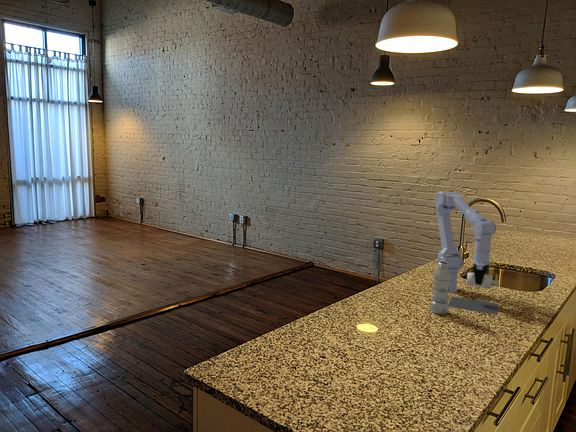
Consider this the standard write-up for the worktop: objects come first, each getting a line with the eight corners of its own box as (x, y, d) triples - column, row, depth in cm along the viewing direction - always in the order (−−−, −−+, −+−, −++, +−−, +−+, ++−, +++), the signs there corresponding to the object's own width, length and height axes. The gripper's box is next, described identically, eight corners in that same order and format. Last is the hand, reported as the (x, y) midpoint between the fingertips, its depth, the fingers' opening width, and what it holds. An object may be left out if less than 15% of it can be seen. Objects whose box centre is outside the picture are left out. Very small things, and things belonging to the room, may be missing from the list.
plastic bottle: (433, 309, 174) (438, 259, 171) (450, 313, 170) (455, 262, 167) (427, 313, 169) (431, 262, 166) (444, 318, 165) (449, 266, 162)
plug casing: (465, 284, 181) (466, 274, 180) (466, 282, 185) (467, 271, 184) (497, 289, 176) (498, 279, 175) (498, 287, 180) (499, 276, 179)
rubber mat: (447, 307, 177) (447, 306, 177) (451, 297, 189) (452, 296, 189) (497, 316, 169) (497, 315, 169) (498, 305, 181) (498, 304, 181)
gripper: (492, 255, 170) (488, 289, 173) (493, 248, 183) (490, 279, 185) (472, 252, 174) (469, 286, 176) (475, 245, 186) (472, 277, 189)
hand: (478, 282), depth 181 cm, fingers closed on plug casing, 4 cm apart
